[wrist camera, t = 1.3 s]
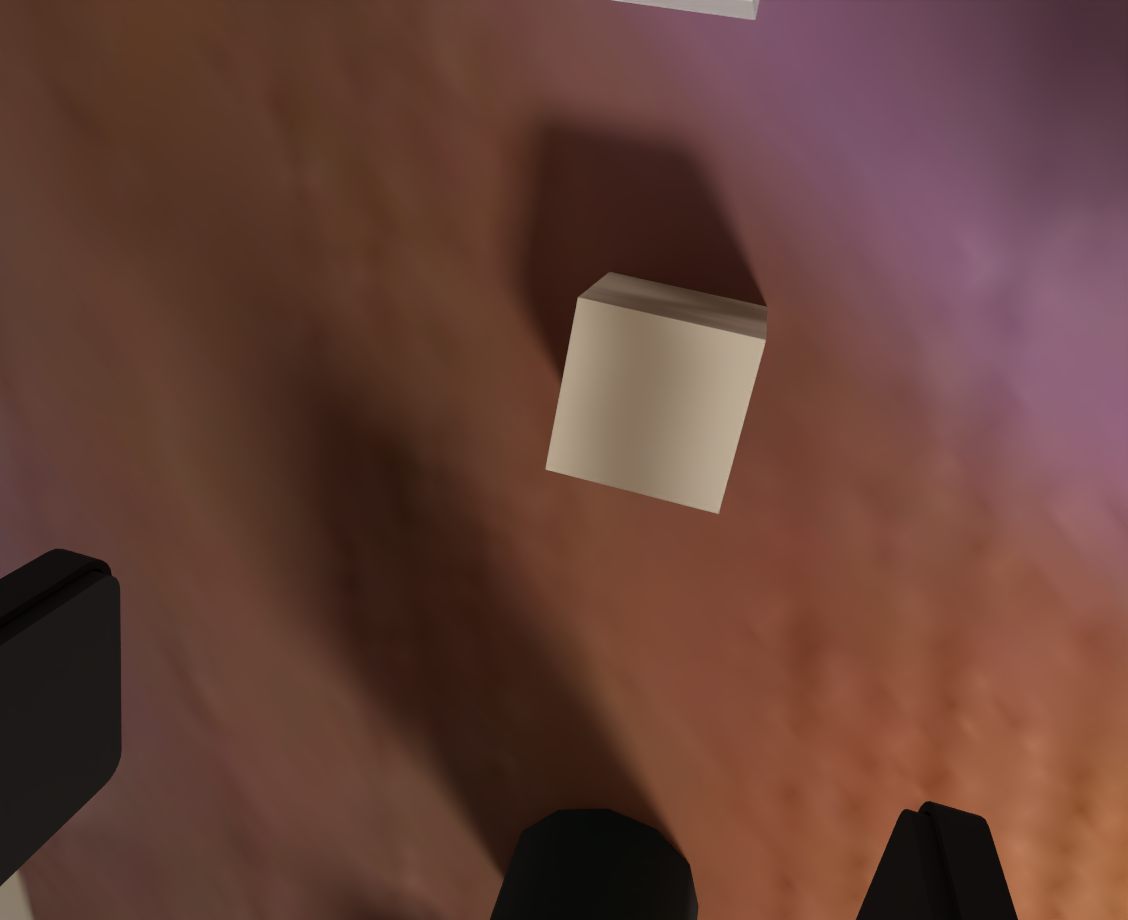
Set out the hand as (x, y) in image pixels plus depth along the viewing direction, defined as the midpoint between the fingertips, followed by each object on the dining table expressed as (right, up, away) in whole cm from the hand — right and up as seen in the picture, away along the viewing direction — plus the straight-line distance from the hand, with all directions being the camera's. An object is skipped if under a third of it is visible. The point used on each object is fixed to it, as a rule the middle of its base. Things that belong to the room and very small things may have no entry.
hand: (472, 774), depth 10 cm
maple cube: (+4, +7, +18) cm, 20 cm away
